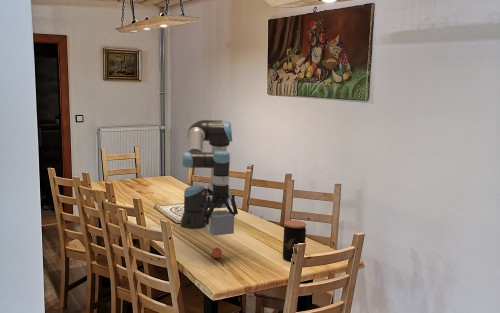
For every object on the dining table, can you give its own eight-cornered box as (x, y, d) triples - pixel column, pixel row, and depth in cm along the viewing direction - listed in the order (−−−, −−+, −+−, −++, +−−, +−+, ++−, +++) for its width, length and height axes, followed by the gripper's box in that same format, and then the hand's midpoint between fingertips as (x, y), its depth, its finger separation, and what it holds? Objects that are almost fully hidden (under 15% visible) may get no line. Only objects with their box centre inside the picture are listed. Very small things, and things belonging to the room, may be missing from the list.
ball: (214, 254, 226) (212, 260, 229) (224, 253, 228) (222, 259, 231) (211, 246, 229) (209, 252, 232) (221, 245, 231) (219, 251, 234)
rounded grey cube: (205, 229, 229) (206, 211, 227) (225, 227, 233) (225, 210, 232) (213, 235, 219) (213, 217, 218) (233, 233, 224) (234, 215, 222)
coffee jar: (278, 258, 233) (279, 222, 231) (292, 253, 241) (293, 219, 238) (294, 264, 226) (296, 227, 223) (308, 259, 233) (310, 223, 231)
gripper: (200, 187, 215) (199, 234, 218) (246, 184, 224) (244, 229, 228) (195, 183, 221) (194, 229, 225) (239, 181, 231) (238, 225, 234)
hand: (219, 229), depth 226 cm, fingers closed on rounded grey cube, 10 cm apart
